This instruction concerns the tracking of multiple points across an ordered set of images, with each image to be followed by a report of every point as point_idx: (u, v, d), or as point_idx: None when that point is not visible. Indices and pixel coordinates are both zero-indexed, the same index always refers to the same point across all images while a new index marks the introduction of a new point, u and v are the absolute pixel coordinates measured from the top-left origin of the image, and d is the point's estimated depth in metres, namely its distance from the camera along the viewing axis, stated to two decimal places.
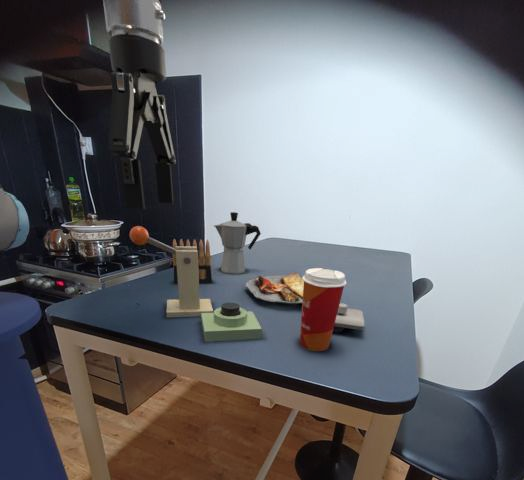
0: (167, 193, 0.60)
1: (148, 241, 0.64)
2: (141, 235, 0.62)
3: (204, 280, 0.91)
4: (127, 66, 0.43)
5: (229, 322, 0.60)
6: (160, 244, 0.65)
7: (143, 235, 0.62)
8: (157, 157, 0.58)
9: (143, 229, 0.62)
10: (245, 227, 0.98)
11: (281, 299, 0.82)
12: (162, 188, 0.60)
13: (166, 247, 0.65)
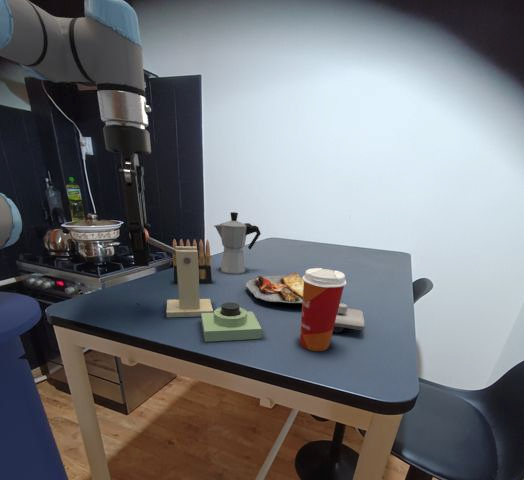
0: None
1: (148, 241, 0.64)
2: None
3: (204, 280, 0.91)
4: (125, 150, 0.53)
5: (229, 322, 0.60)
6: (160, 244, 0.65)
7: None
8: None
9: None
10: (245, 227, 0.98)
11: (281, 299, 0.82)
12: None
13: (166, 247, 0.65)
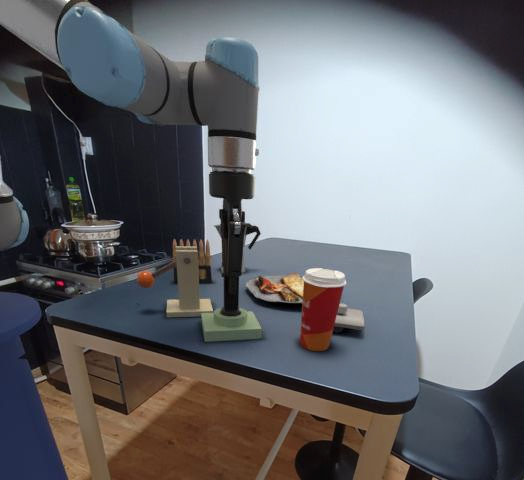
0: None
1: (154, 276, 0.67)
2: (145, 278, 0.66)
3: (204, 280, 0.91)
4: (234, 197, 0.50)
5: (229, 322, 0.60)
6: (162, 269, 0.67)
7: (146, 277, 0.66)
8: (225, 266, 0.59)
9: (142, 273, 0.66)
10: (245, 227, 0.98)
11: (281, 299, 0.82)
12: None
13: (167, 267, 0.67)
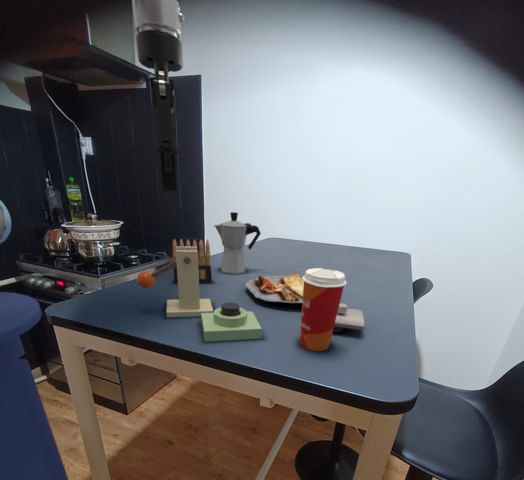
0: None
1: (154, 276, 0.67)
2: (145, 278, 0.66)
3: (204, 280, 0.91)
4: (159, 57, 0.53)
5: (229, 322, 0.60)
6: (162, 269, 0.67)
7: (146, 277, 0.66)
8: None
9: (142, 273, 0.66)
10: (245, 227, 0.98)
11: (281, 299, 0.82)
12: None
13: (167, 267, 0.67)
